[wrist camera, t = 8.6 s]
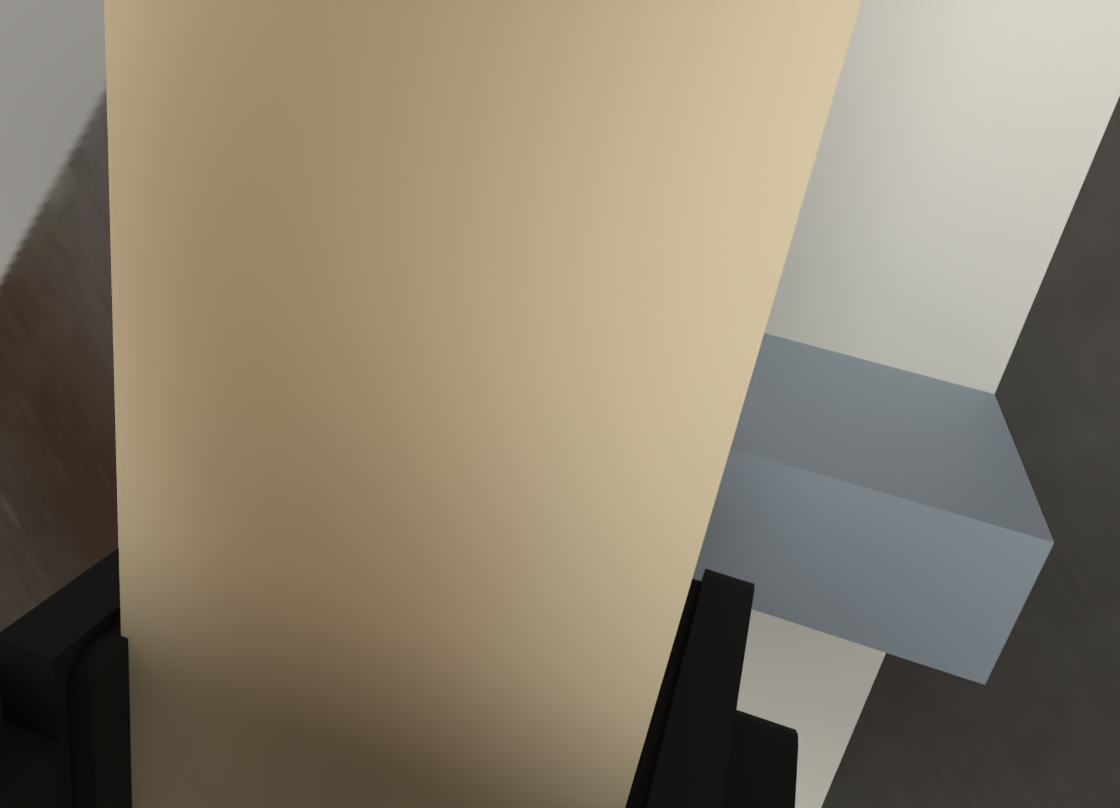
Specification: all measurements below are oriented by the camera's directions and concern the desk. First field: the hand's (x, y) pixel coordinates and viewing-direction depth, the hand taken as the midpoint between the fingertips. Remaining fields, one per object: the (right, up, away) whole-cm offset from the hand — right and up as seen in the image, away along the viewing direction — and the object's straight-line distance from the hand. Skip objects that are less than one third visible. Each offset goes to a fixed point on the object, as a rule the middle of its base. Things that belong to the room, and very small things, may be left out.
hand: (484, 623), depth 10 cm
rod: (0, 0, +1) cm, 1 cm away
